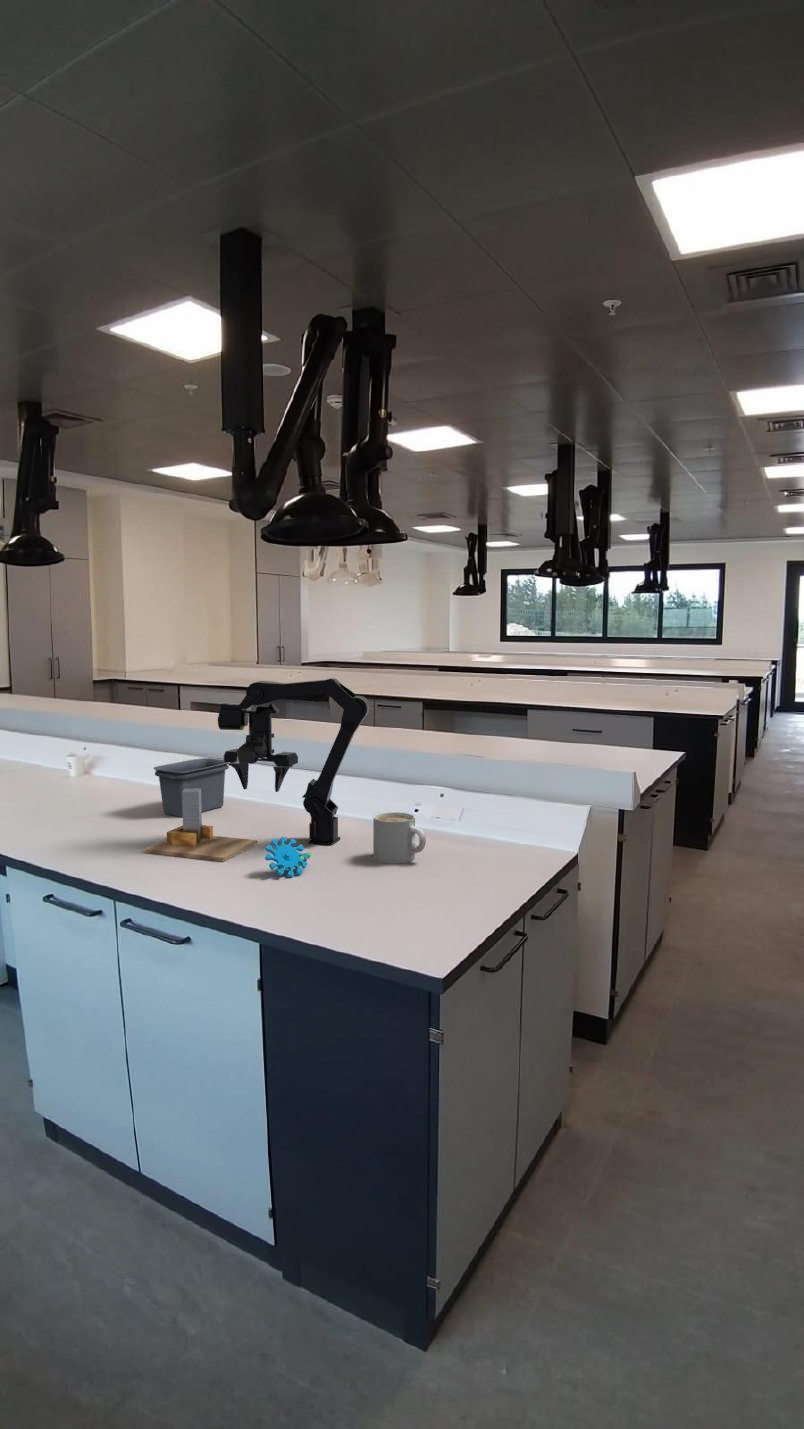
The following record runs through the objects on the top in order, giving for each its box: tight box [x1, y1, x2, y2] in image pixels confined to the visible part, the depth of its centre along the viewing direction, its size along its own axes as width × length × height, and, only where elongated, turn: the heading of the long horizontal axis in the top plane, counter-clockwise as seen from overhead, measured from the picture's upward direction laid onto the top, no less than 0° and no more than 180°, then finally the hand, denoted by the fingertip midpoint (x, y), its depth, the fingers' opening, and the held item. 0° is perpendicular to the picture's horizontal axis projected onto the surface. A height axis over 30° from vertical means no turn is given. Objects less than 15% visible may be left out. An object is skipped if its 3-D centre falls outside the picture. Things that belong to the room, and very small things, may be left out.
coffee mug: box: [372, 811, 427, 865], centre depth 180 cm, size 13×10×10 cm
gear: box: [264, 836, 312, 878], centre depth 170 cm, size 11×6×10 cm
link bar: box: [182, 789, 203, 843], centre depth 190 cm, size 4×4×13 cm
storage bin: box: [152, 757, 230, 818], centre depth 227 cm, size 21×16×14 cm
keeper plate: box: [144, 824, 258, 863], centre depth 188 cm, size 22×16×4 cm
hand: (261, 790), depth 195 cm, fingers open, 9 cm apart
